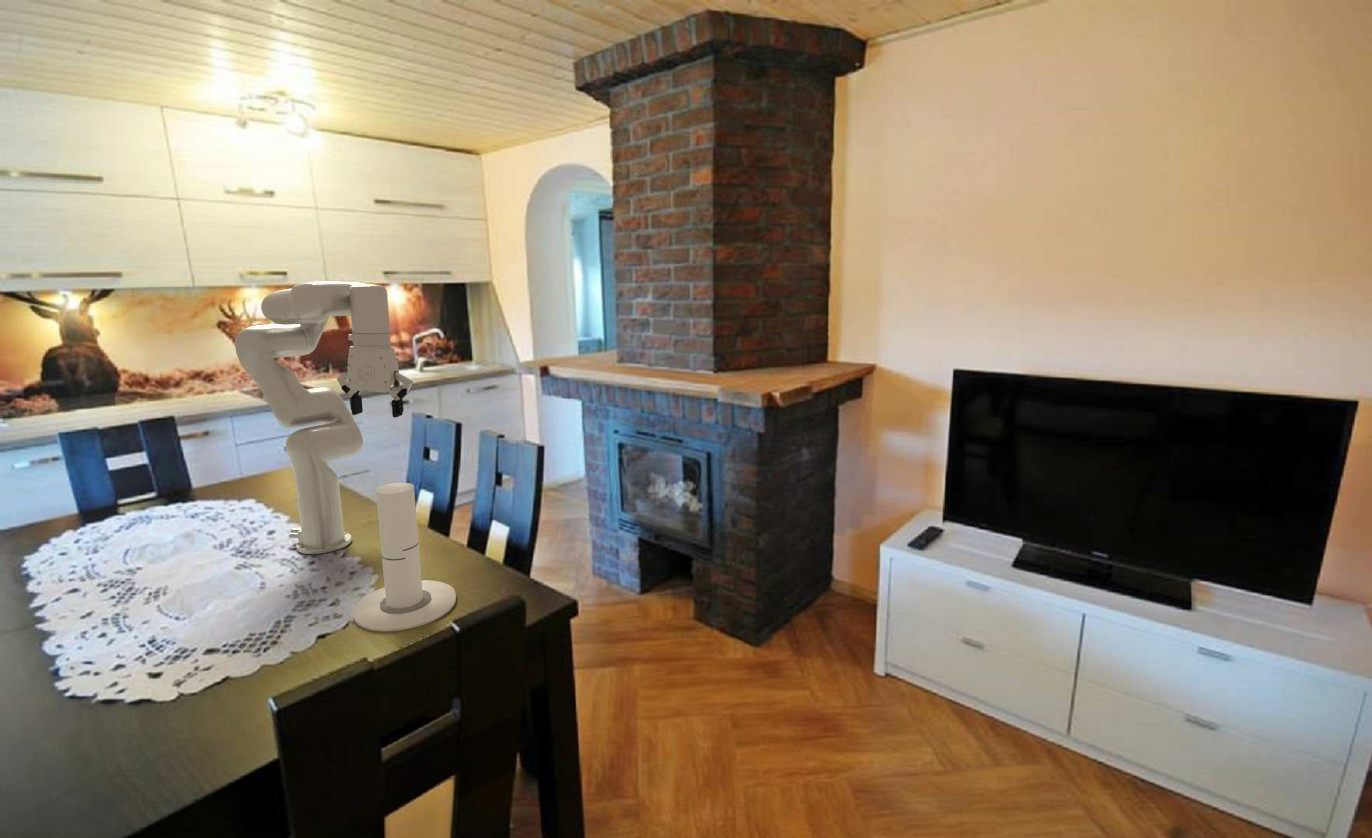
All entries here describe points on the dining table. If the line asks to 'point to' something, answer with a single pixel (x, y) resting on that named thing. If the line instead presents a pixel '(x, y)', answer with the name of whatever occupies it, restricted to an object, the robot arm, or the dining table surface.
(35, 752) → the dining table surface
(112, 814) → the dining table surface
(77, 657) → the dining table surface
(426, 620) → the plate
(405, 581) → the cylindrical container
